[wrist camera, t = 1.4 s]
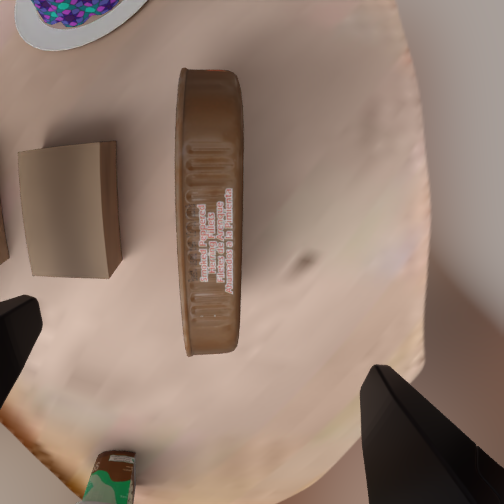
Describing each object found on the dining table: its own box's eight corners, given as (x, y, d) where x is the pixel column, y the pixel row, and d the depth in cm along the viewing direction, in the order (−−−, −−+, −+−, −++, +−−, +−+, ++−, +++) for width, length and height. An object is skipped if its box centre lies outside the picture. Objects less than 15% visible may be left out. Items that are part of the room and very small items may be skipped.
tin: (185, 83, 17) (161, 47, 9) (237, 83, 17) (249, 46, 10) (188, 306, 22) (177, 389, 15) (232, 306, 23) (240, 389, 15)
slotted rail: (-34, 256, 19) (-54, 270, 16) (-47, 165, 16) (-70, 171, 13) (122, 260, 21) (109, 278, 18) (116, 140, 18) (99, 142, 15)
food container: (82, 431, 27) (60, 504, 17) (135, 446, 28) (123, 523, 18) (92, 478, 31) (80, 536, 21) (135, 489, 32) (128, 549, 22)
